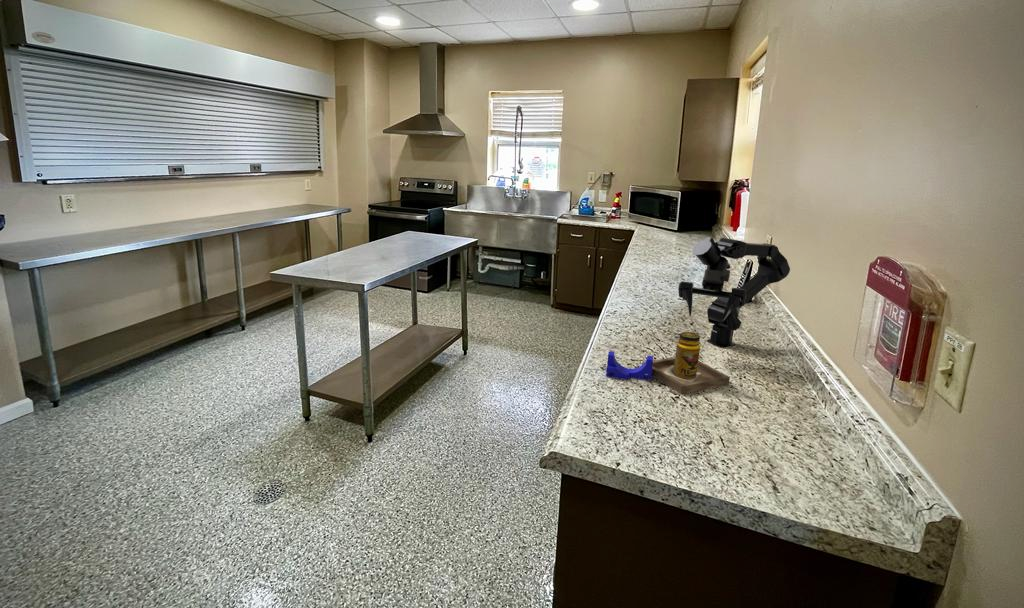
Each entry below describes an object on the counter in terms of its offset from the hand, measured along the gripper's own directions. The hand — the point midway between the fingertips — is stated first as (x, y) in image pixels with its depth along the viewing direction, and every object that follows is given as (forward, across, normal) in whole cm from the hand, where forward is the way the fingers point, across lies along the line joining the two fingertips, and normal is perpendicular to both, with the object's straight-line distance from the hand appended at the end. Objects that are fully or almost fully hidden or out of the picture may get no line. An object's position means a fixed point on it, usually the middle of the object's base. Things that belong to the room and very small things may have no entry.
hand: (706, 317), depth 147 cm
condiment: (+20, -3, -1) cm, 20 cm away
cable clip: (+25, -16, -6) cm, 31 cm away
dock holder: (+20, -2, -1) cm, 20 cm away
